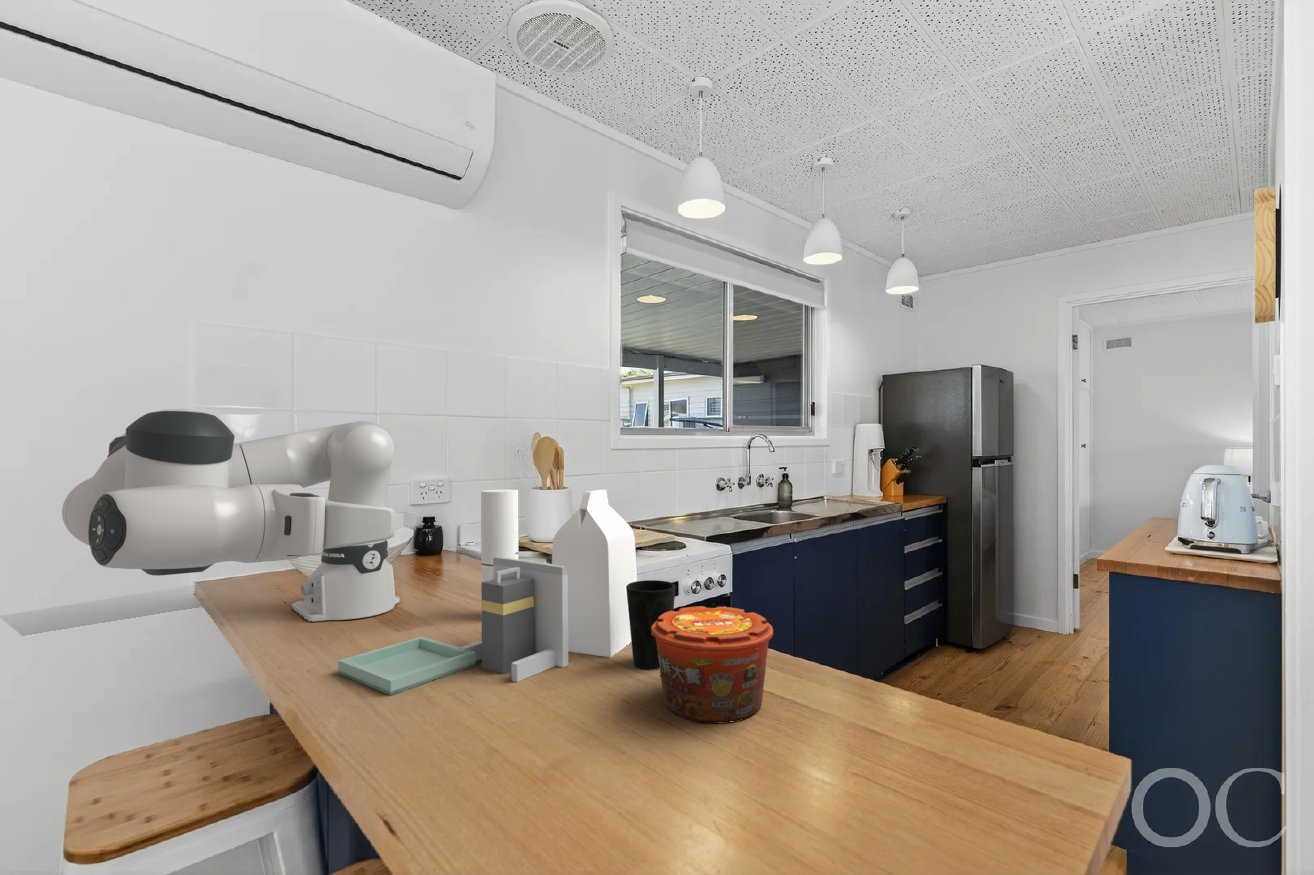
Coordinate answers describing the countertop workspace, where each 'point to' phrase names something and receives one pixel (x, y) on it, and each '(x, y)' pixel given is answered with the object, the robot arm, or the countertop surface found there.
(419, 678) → the tray
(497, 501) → the cylindrical container
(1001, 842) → the countertop surface
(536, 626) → the dock
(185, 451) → the robot arm
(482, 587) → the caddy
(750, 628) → the food container
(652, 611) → the cup
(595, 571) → the milk
